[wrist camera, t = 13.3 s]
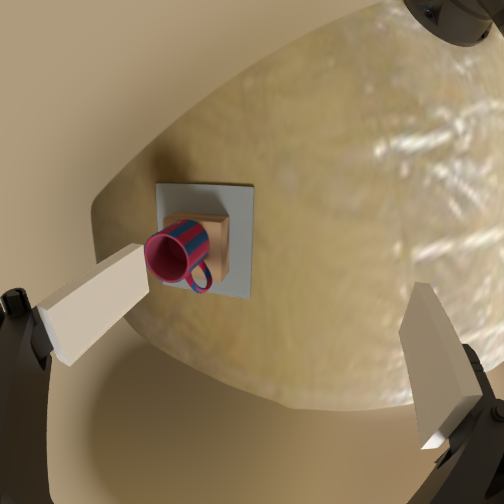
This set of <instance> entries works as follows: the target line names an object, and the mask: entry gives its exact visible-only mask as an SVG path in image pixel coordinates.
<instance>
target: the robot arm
mask: <svg viewBox="0 0 504 504" xmlns="http://www.w3.org/2000/svg"><path fill="white" fill-rule="evenodd" d="M404 1H405V3H406V5H407V7H408V9H409V10H410V12H411V13H412V14H413V16H414V17H415V18H416V19H417V20H418V21H419V22H420V23H421V24H422V25H423V26H424V27H425V28H426V29H427V30H429V31H430V32H431V33H432V34H434V35H435V36H437V37H439V38H440V39H442V40H444V41H446V42H448V43H451V44H453V45H457V46H462V47H470V46H474V45H476V44H478V43H480V42H482V41H483V40H484V39H485V38H486V37H487V36H488V34H489V31H490V29H491V27H492V24H493V22H494V23H495V25H496V26H497V27H498V29H499V31H500V32H501V34H502V35H503V37H504V0H404ZM147 293H149V287H148V280H147V273H146V265H145V257H144V249H143V245H140V244H133V243H131V244H130V245H128V246H126V247H125V248H123V249H121V250H120V251H118V252H116V253H115V254H113V255H112V256H110V257H108V258H107V259H105V260H104V261H102V262H100V263H99V264H97V265H96V266H94V267H92V268H91V269H89V270H88V271H86V272H85V273H83V274H82V275H80V276H79V277H77V278H75V279H74V280H72V281H71V282H69V283H68V284H66V285H65V286H64V287H62V288H61V289H59V290H58V291H56V292H55V293H53V294H52V295H50V296H49V297H47V298H46V299H44V300H43V301H42V302H40V303H39V304H37V306H35V307H34V308H32V309H31V306H30V303H29V300H28V297H27V294H26V291H25V290H24V289H23V288H14V289H11V290H9V291H7V292H5V293H4V294H3V295H2V296H1V297H0V298H1V301H2V304H3V306H4V309H5V312H4V311H3V308H2V306H1V304H0V504H54V503H53V501H52V499H51V497H50V493H49V482H48V470H47V448H46V447H47V446H46V445H47V442H46V432H47V404H48V391H49V381H50V372H51V364H52V357H51V355H50V352H51V351H52V350H54V351H55V353H56V355H57V358H58V360H59V361H61V362H63V363H65V364H66V365H68V366H71V365H72V364H73V363H74V362H75V361H76V360H77V359H78V358H79V357H80V356H81V355H82V354H83V353H84V352H85V351H86V350H87V349H88V348H89V347H90V346H91V345H93V344H94V343H95V342H96V341H97V340H98V339H99V338H100V337H101V336H102V335H103V334H104V333H105V332H106V331H107V330H108V329H109V328H110V327H111V326H112V325H114V324H115V323H116V322H117V321H118V320H119V319H120V318H121V317H122V316H123V315H124V314H126V313H127V312H128V311H129V310H130V309H131V308H132V307H133V306H134V305H135V304H136V303H137V302H139V301H140V300H141V299H142V298H143V297H144V296H145V295H146V294H147ZM399 336H400V340H401V344H402V348H403V352H404V356H405V360H406V365H407V369H408V374H409V379H410V384H411V389H412V394H413V400H414V405H415V411H416V417H417V424H418V432H419V438H420V448H421V449H428V448H439V447H440V446H441V445H442V444H443V443H444V442H445V441H446V440H447V439H448V438H449V444H450V447H449V448H448V449H447V450H446V451H445V453H443V454H442V455H441V456H440V458H438V459H437V460H436V461H435V463H437V465H436V466H435V468H434V469H433V471H432V472H431V473H430V475H429V476H428V478H427V479H426V480H425V482H424V483H423V484H422V486H421V487H420V488H419V490H418V491H417V492H416V493H415V494H414V496H413V497H412V498H411V499H410V501H409V502H408V503H407V504H504V401H503V400H501V399H496V398H495V395H494V393H493V390H492V388H491V386H490V383H489V381H488V378H487V376H486V374H485V372H483V371H484V369H483V367H482V365H481V364H480V361H479V358H478V356H477V354H476V352H475V351H474V350H473V349H472V348H471V347H470V346H469V345H468V344H461V342H460V340H459V338H458V336H457V334H456V332H455V330H454V328H453V326H452V324H451V322H450V320H449V318H448V316H447V314H446V312H445V310H444V308H443V307H442V305H441V303H440V301H439V299H438V297H437V296H436V294H435V292H434V290H433V289H432V287H431V285H430V284H428V283H420V282H415V284H414V287H413V291H412V294H411V297H410V300H409V303H408V306H407V309H406V312H405V315H404V318H403V321H402V324H401V327H400V330H399Z"/></svg>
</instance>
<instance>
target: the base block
mask: <svg viewBox="0 0 504 504" xmlns="http://www.w3.org/2000/svg"><path fill="white" fill-rule="evenodd" d="M182 219H190V220H193V221H195V222H197V223H198V224H200V225H201V226H202V227H203V228H204V229H205V231H206V233H207V235H208V237H209V242H210V247H209V251H208V254H207V256H206V257H205V258H204V262H205V263H206V265H207V267H208V269H209V270H210V273H211V275H212V280H213V281H214V282H222V281H223V279H224V278H225V277H226V275H227V274H228V272H229V224H230V216H224V215H211V214H198V213H184V212H174V213H172V214H170V215H168V216H166V217H164V218H163V226H164V228H166V227H168V226H170V225H171V224H173V223H175V222H177V221H179V220H182ZM191 274H192V277H193V278H195V279H201V280H206V277H205V275H204V273H203V271H202V269H201V268H200V267H199V266H198V265H197V266H196V267H195V268H194V269H193V270H192V272H191Z"/></svg>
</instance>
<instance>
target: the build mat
mask: <svg viewBox="0 0 504 504" xmlns="http://www.w3.org/2000/svg"><path fill="white" fill-rule="evenodd" d="M156 200H157V219H158V232H159V231H161V230H163V229H164V226H163V218H164V217H166V216H168V215H170V214H172V213H174V212H184V213H198V214H211V215H224V216H230V224H229V272H228V274H227V275H226V277H225V278H224V279H223V281H222V282H214V281H213V282H212V286H211V287H210V289H209V290H208V291H206V292H208V293H214V294H220V295H227V296H233V297H240V298H246V299H250V298H251V270H252V241H253V212H254V187H247V186H230V185H209V184H178V183H156ZM193 279H194V281H195V283H196V284H197V285H198V286H199V287H201V288H205V287H206V285H207V280H201V279H195V278H193ZM163 285H168V286H174V287H179V288H185V289H191V290H193V289H192V288H191V287H190V286H189V284H188V283H187V281H186V280H185V279H183V280H181V281H179V282H176V283H167V282H164V281H163Z"/></svg>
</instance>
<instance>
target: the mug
mask: <svg viewBox="0 0 504 504" xmlns="http://www.w3.org/2000/svg"><path fill="white" fill-rule="evenodd" d="M209 247H210V242H209V237H208V235H207V233H206V231H205V229H204V228H203V227H202V226H201V225H200V224H198V223H197V222H195V221H193V220H190V219H182V220H179V221H177V222H175V223H173V224H171V225H170V226H168V227H166V228H164V229H163V230H161V231H159V232H158V233H156V234H154V235H152V236H151V237H150V238H149V239H148V240H147V242H146V244H145V247H144V257H145V262H146V265H147V267H148V268H149V270H150V271H151V273H152V274H153V275H154V276H155V277H157V278H158V279H160V280H162V281H164V282H167V283H176V282H179V281H181V280H183V279H185V280H186V281H187V283H188V284H189V286H190V287H191V288H192V289H193V290H194V291H195V292H197V293H204V292H206V291H208V290H209V289H210V287H211V286H212V282H213V280H212V275H211V273H210V270H209V269H208V267H207V265H206V263H205V262H204V258H205V257H206V256H207V254H208V251H209ZM197 265H198V266H199V267H200V268H201V269H202V271H203V273H204V275H205V277H206V280H207V285H206V287H205V288H201V287H199V286H198V285H197V284H196V283H195V281H194V279H193V277H192V274H191V272H192V270H193V269H194V268H195V267H196V266H197Z"/></svg>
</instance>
